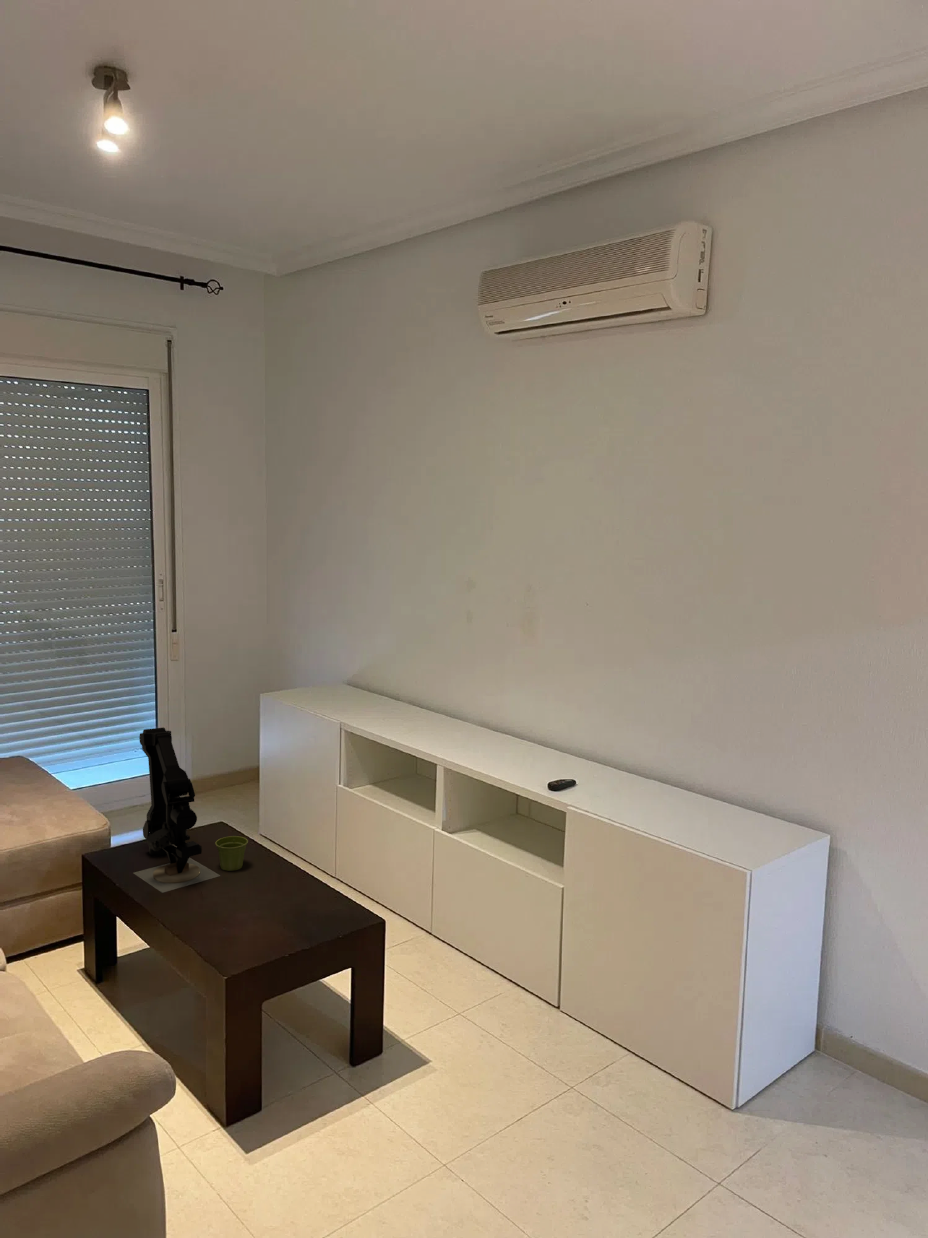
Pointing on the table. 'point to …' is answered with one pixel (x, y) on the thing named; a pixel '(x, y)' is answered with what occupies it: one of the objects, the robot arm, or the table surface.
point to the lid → (176, 873)
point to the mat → (164, 887)
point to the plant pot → (231, 852)
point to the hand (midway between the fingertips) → (176, 871)
